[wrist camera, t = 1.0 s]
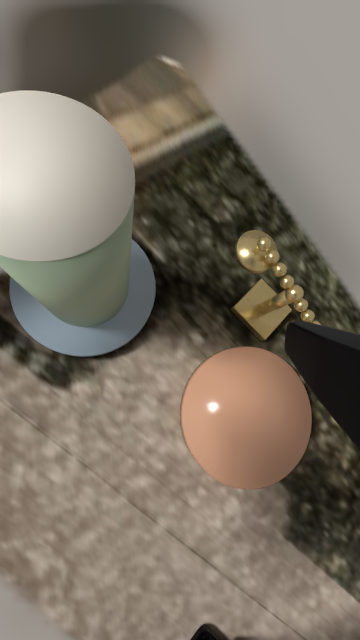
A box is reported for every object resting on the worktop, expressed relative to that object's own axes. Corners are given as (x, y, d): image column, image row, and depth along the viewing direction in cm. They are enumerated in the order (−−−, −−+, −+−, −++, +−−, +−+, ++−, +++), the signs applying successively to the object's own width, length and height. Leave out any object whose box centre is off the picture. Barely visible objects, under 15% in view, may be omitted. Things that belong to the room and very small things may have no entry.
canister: (82, 344, 20) (26, 300, 8) (21, 282, 20) (-117, 152, 9) (145, 288, 22) (171, 186, 10) (89, 230, 22) (50, 62, 10)
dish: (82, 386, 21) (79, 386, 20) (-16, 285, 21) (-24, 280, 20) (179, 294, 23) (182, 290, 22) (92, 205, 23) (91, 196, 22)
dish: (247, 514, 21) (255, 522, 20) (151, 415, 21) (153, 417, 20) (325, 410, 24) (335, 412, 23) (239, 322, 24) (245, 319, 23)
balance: (289, 370, 24) (354, 368, 17) (201, 280, 24) (232, 242, 17) (314, 340, 25) (385, 326, 18) (229, 253, 25) (269, 207, 18)
